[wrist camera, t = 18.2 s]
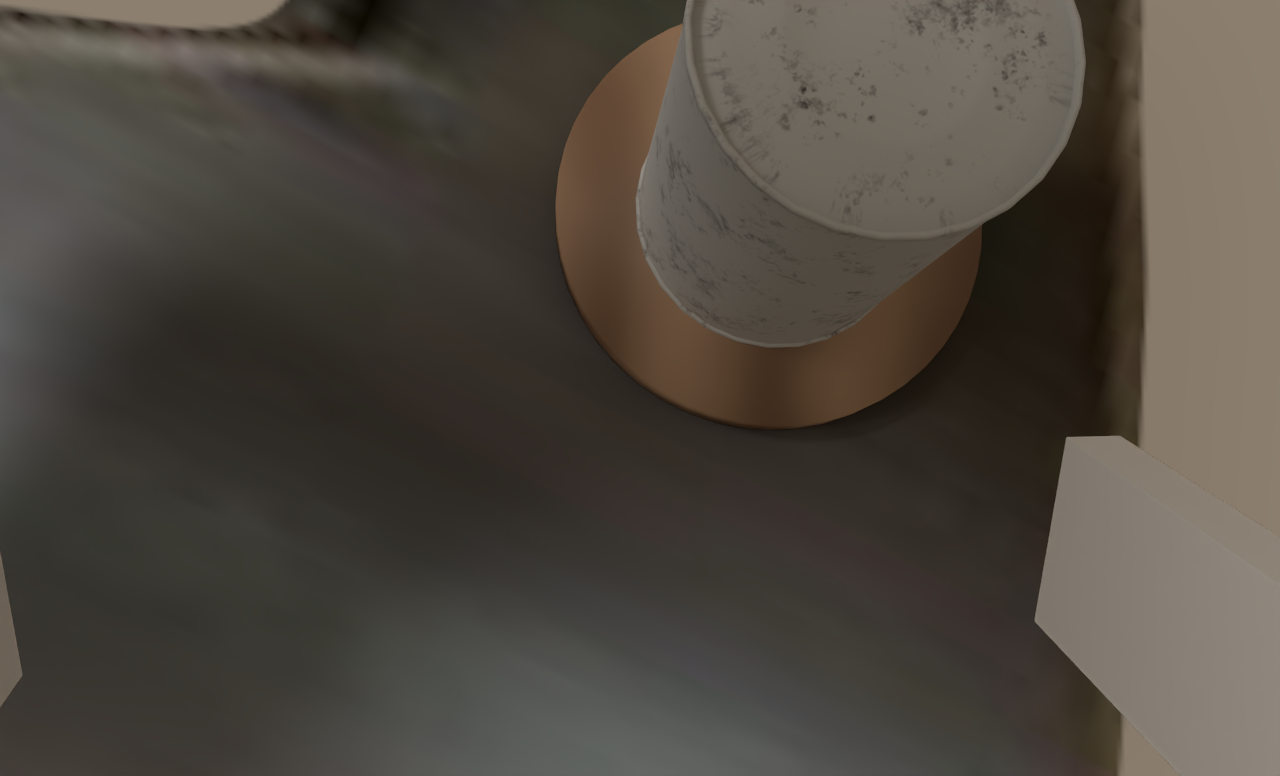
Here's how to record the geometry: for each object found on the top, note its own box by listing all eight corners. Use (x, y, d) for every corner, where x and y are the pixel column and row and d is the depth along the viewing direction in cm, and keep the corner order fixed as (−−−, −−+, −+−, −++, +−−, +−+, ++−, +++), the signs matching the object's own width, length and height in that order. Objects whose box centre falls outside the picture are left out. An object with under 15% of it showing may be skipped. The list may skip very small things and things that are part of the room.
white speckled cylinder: (903, 359, 36) (1087, 258, 24) (625, 336, 35) (670, 218, 23) (910, 98, 38) (1085, -122, 26) (644, 69, 37) (696, -171, 25)
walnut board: (577, 450, 36) (579, 446, 34) (535, 38, 38) (535, 21, 37) (999, 408, 37) (1014, 403, 36) (934, 16, 40) (946, -2, 38)
